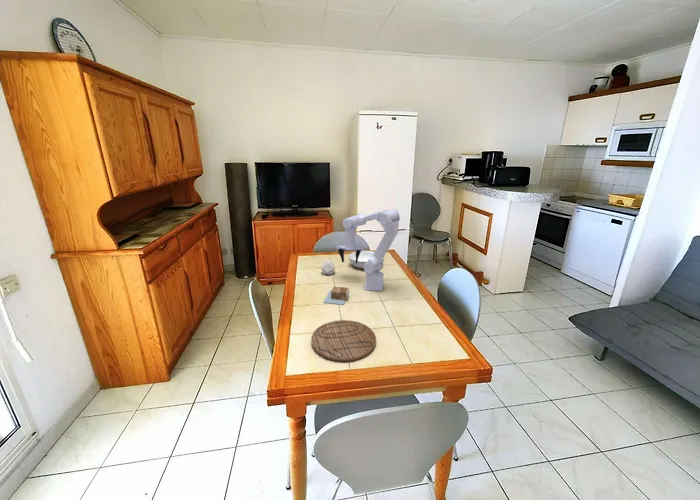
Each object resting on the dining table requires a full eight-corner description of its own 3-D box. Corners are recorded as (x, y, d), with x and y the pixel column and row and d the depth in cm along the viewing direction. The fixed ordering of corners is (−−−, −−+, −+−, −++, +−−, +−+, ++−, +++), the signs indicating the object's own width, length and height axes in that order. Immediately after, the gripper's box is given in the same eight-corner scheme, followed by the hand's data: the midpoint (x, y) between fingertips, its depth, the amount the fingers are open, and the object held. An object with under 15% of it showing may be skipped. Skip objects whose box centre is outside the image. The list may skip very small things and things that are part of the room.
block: (349, 287, 152) (333, 286, 153) (347, 293, 146) (331, 291, 148) (349, 294, 153) (333, 293, 155) (347, 300, 148) (331, 299, 149)
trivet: (386, 356, 109) (386, 351, 109) (318, 369, 103) (317, 364, 102) (363, 320, 132) (363, 316, 131) (306, 329, 125) (306, 325, 125)
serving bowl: (360, 258, 207) (360, 248, 205) (387, 264, 195) (387, 254, 193) (342, 266, 191) (342, 256, 189) (370, 274, 179) (370, 264, 177)
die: (329, 278, 175) (338, 264, 175) (317, 270, 175) (325, 256, 175) (330, 277, 183) (338, 264, 184) (318, 270, 183) (326, 257, 184)
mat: (348, 292, 157) (348, 291, 157) (343, 304, 144) (343, 304, 144) (330, 290, 159) (330, 289, 159) (323, 303, 146) (323, 302, 146)
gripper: (335, 240, 162) (335, 263, 167) (362, 241, 160) (361, 265, 164) (338, 236, 169) (338, 259, 173) (363, 238, 167) (363, 261, 171)
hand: (349, 262), depth 169 cm, fingers open, 7 cm apart
